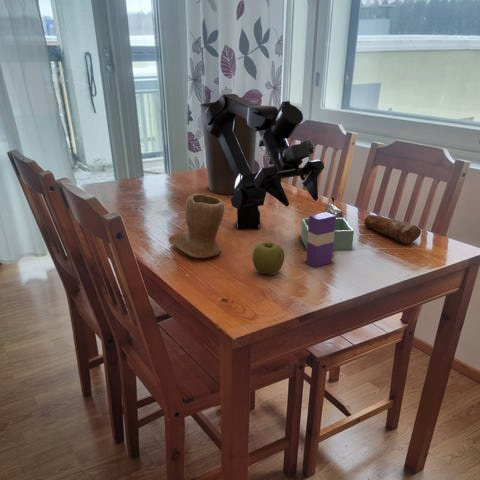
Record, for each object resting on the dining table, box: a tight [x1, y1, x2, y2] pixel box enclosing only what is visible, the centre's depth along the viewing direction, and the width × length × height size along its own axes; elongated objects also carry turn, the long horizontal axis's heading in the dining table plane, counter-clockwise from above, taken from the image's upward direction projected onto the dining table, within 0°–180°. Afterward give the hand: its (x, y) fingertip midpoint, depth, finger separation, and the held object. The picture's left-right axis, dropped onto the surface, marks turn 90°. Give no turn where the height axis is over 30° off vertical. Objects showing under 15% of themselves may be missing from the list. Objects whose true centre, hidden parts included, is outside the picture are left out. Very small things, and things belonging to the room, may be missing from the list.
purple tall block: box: [305, 211, 336, 268], centre depth 117 cm, size 4×5×12 cm, turn 121°
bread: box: [363, 214, 422, 244], centre depth 136 cm, size 6×19×6 cm, turn 25°
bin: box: [300, 217, 355, 251], centre depth 131 cm, size 12×11×5 cm
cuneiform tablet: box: [324, 196, 344, 218], centre depth 144 cm, size 7×4×12 cm
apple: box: [251, 241, 285, 276], centre depth 113 cm, size 8×8×7 cm
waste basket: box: [199, 101, 259, 195], centre depth 176 cm, size 27×20×30 cm
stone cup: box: [168, 193, 225, 259], centre depth 123 cm, size 15×12×15 cm
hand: (302, 202), depth 119 cm, fingers open, 9 cm apart
